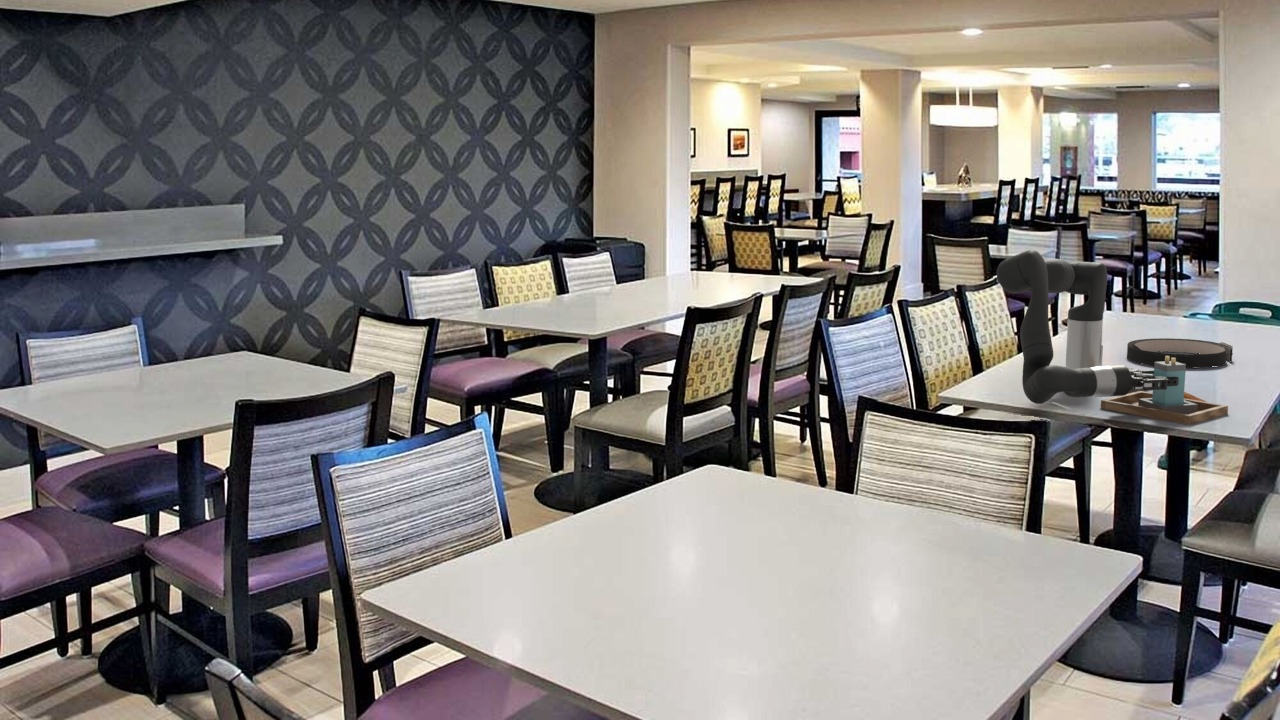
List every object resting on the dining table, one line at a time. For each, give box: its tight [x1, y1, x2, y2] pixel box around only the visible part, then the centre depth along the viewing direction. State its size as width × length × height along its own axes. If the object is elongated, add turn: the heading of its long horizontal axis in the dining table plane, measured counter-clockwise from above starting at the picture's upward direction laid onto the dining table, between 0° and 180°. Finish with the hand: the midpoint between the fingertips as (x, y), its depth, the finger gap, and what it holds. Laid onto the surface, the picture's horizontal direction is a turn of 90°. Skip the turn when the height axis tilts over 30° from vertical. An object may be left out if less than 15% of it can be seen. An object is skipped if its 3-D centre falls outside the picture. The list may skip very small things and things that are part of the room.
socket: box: [1138, 398, 1198, 415], centre depth 281 cm, size 10×10×2 cm
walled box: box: [1100, 390, 1229, 426], centre depth 282 cm, size 17×23×2 cm
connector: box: [1152, 356, 1187, 405], centre depth 280 cm, size 5×5×14 cm
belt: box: [1126, 337, 1234, 369], centre depth 350 cm, size 29×30×5 cm
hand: (1166, 377), depth 279 cm, fingers open, 8 cm apart
